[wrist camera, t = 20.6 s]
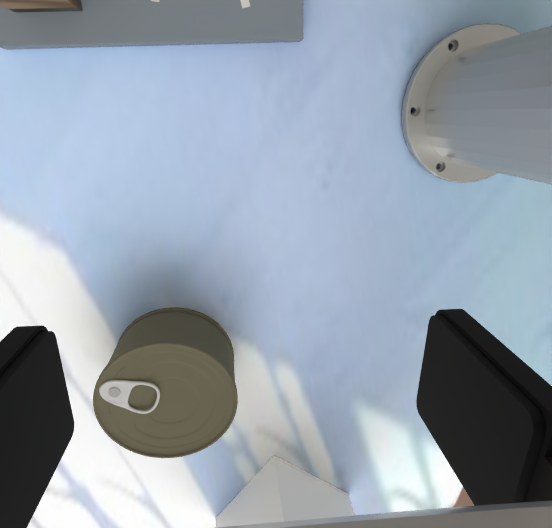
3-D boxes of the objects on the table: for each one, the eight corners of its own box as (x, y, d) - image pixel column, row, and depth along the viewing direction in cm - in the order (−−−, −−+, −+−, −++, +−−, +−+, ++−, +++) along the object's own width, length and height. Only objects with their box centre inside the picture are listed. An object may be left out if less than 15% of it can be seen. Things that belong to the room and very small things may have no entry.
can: (214, 417, 44) (213, 469, 37) (101, 392, 41) (79, 444, 35) (251, 323, 40) (256, 363, 34) (131, 290, 38) (111, 326, 31)
